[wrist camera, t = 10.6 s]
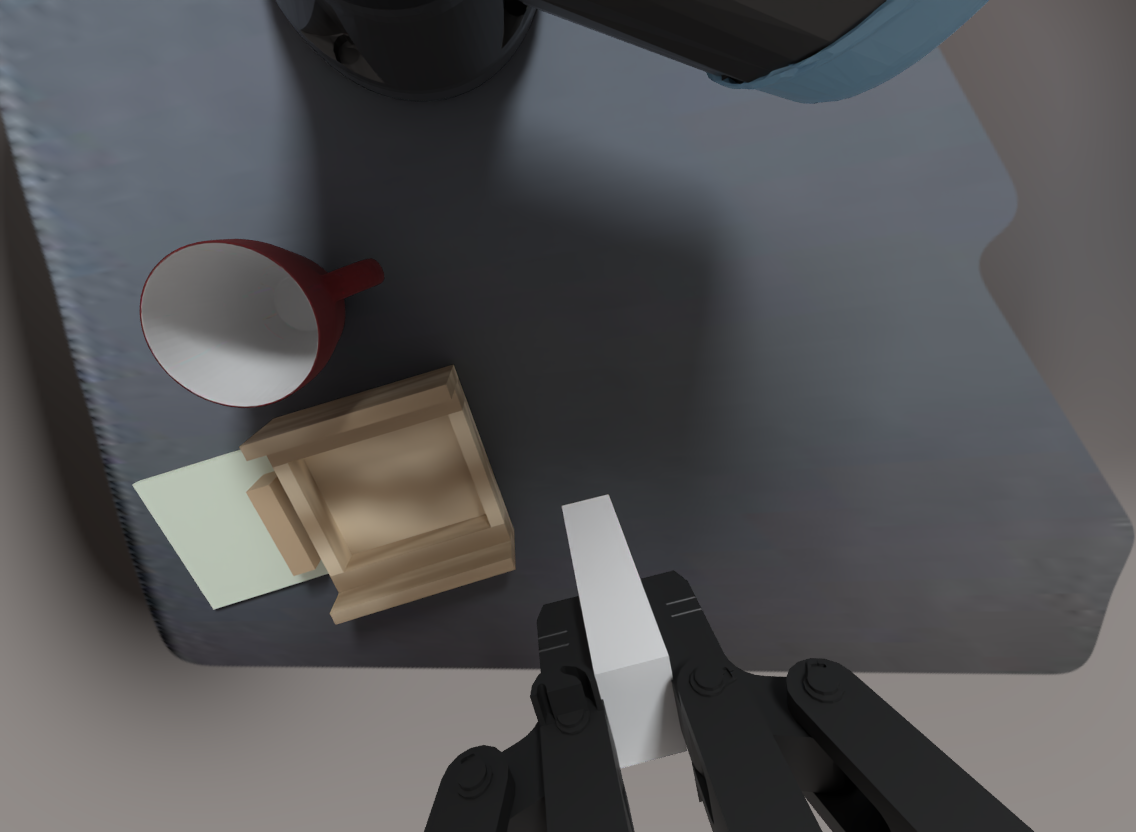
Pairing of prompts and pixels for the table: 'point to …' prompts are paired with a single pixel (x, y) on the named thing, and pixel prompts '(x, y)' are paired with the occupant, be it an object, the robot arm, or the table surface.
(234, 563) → the lid
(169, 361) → the mug
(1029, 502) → the table surface
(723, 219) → the table surface
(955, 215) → the table surface
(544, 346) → the table surface
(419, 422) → the birch box
